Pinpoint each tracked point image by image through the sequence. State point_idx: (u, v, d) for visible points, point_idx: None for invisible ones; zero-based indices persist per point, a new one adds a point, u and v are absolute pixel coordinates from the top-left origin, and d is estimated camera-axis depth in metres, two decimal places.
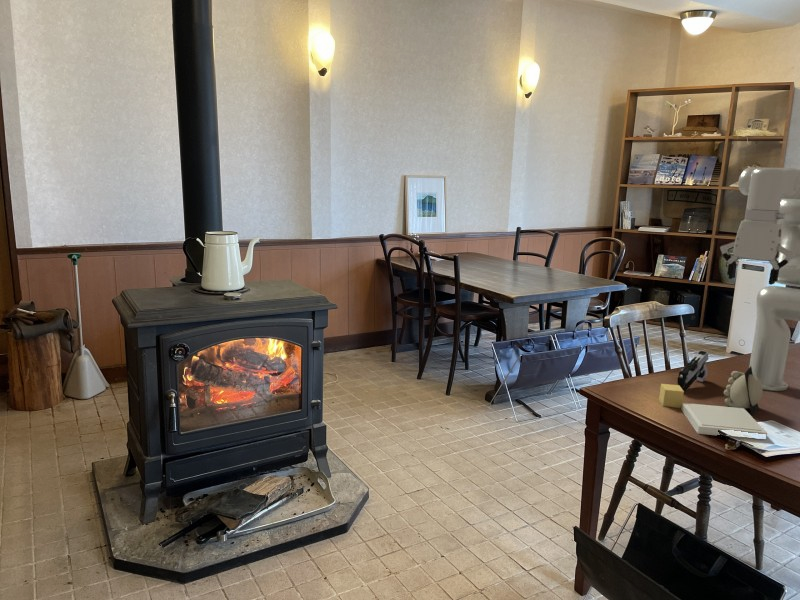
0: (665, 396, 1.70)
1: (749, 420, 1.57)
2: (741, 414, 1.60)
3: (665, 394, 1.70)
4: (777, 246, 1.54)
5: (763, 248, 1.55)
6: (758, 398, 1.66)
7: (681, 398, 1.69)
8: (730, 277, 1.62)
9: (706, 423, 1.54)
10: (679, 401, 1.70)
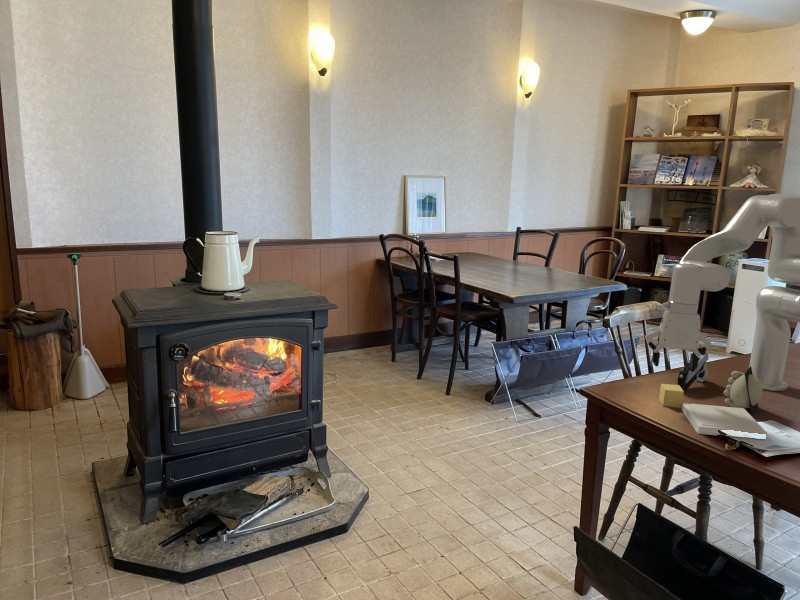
0: (665, 396, 1.70)
1: (749, 420, 1.57)
2: (741, 414, 1.60)
3: (665, 394, 1.70)
4: None
5: None
6: (758, 398, 1.66)
7: (681, 398, 1.69)
8: None
9: (706, 423, 1.54)
10: (679, 401, 1.70)
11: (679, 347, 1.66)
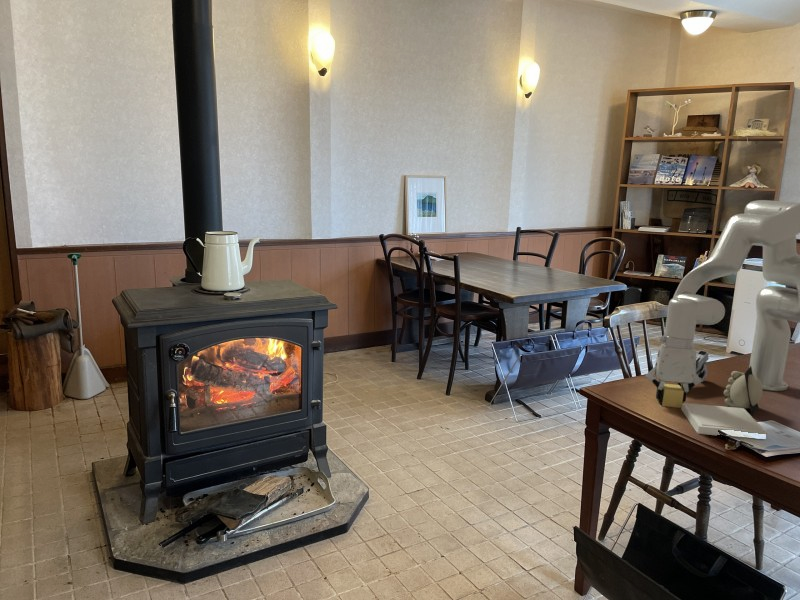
0: (665, 396, 1.70)
1: (749, 420, 1.57)
2: (741, 414, 1.60)
3: (665, 394, 1.70)
4: (655, 363, 1.72)
5: None
6: (758, 398, 1.66)
7: (681, 398, 1.69)
8: None
9: (706, 423, 1.54)
10: (679, 401, 1.70)
11: (676, 380, 1.68)
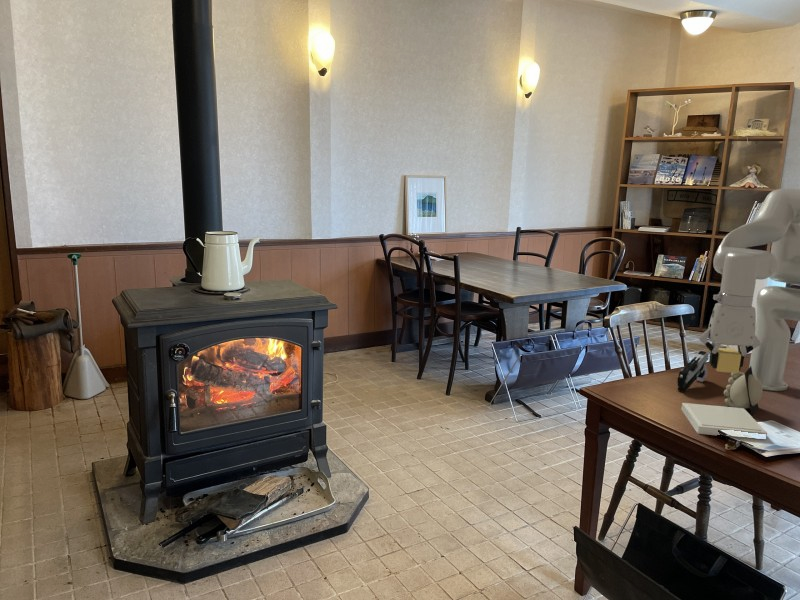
0: (720, 360, 1.54)
1: (749, 420, 1.57)
2: (741, 414, 1.60)
3: (721, 358, 1.54)
4: (709, 324, 1.57)
5: None
6: (758, 398, 1.66)
7: (738, 362, 1.54)
8: None
9: (706, 423, 1.54)
10: (736, 365, 1.54)
11: (732, 343, 1.53)
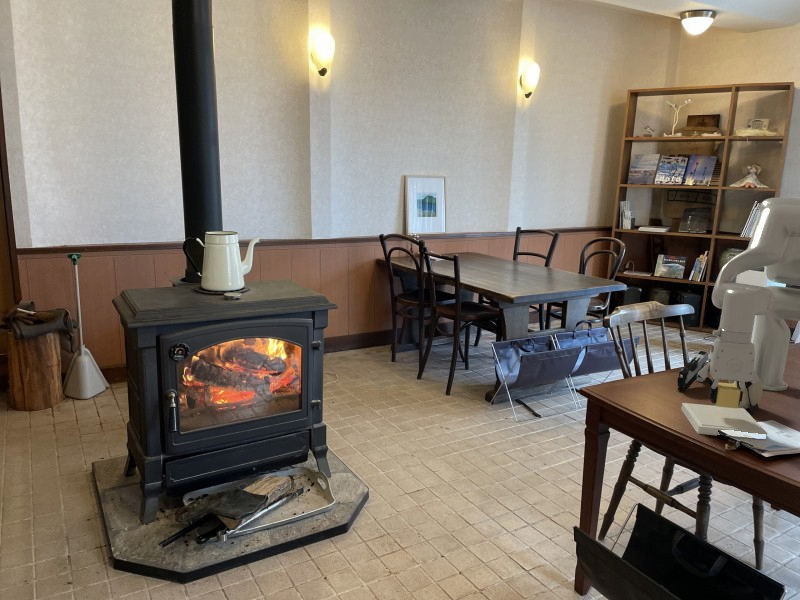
0: (720, 395, 1.55)
1: (749, 420, 1.57)
2: (741, 414, 1.60)
3: (720, 394, 1.55)
4: (708, 359, 1.58)
5: None
6: (758, 398, 1.66)
7: (737, 398, 1.55)
8: None
9: (706, 423, 1.54)
10: (735, 401, 1.55)
11: (732, 378, 1.54)
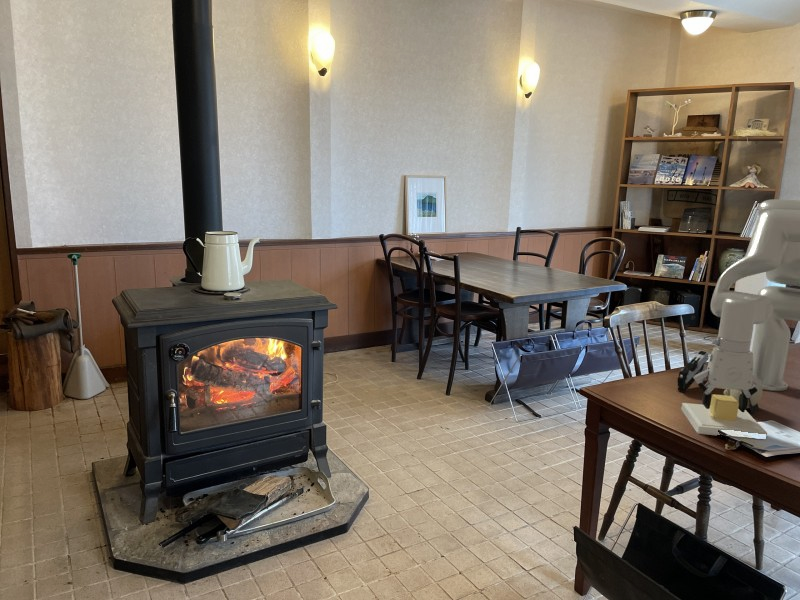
0: (718, 408, 1.56)
1: (749, 420, 1.57)
2: (741, 414, 1.60)
3: (719, 406, 1.56)
4: (707, 368, 1.58)
5: None
6: (758, 398, 1.66)
7: (736, 410, 1.56)
8: None
9: (706, 423, 1.54)
10: (734, 413, 1.56)
11: (731, 387, 1.54)
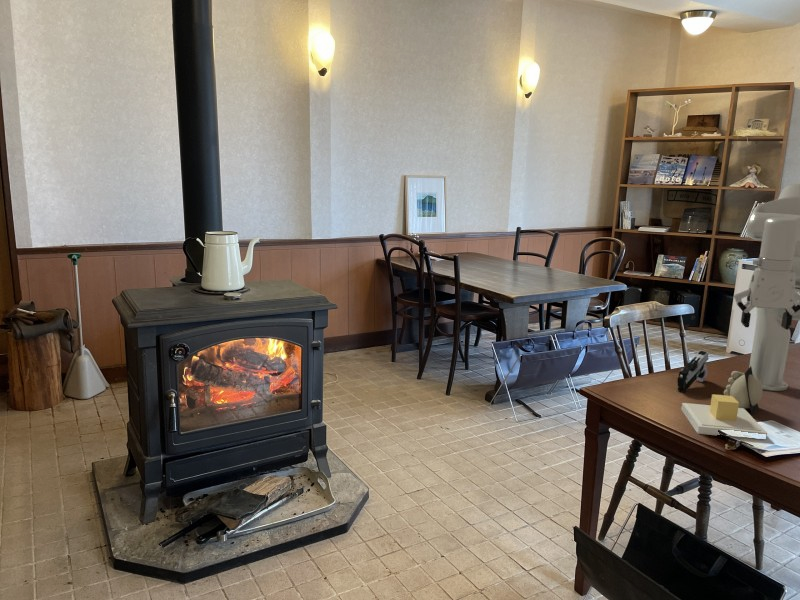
0: (718, 408, 1.56)
1: (749, 420, 1.57)
2: (741, 414, 1.60)
3: (719, 406, 1.56)
4: None
5: None
6: (758, 398, 1.66)
7: (736, 410, 1.56)
8: None
9: (706, 423, 1.54)
10: (734, 413, 1.56)
11: (772, 306, 1.57)
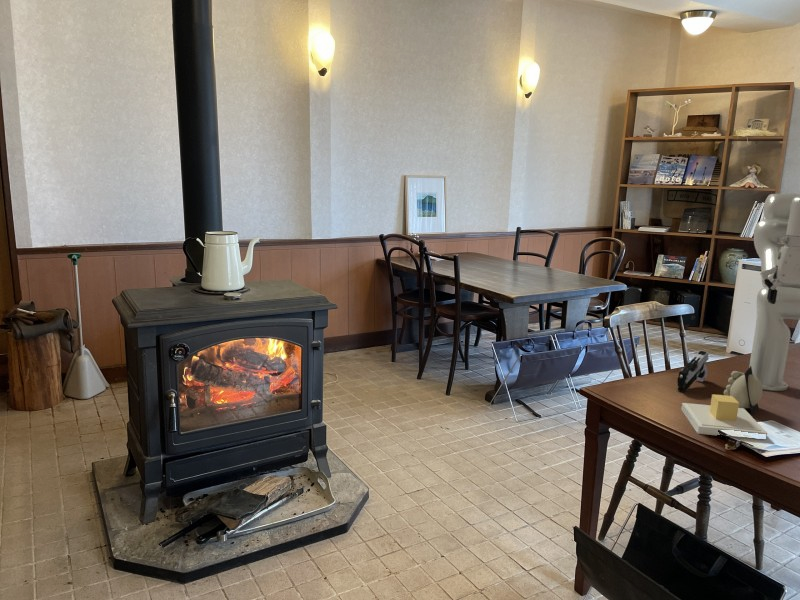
0: (718, 408, 1.56)
1: (749, 420, 1.57)
2: (741, 414, 1.60)
3: (719, 406, 1.56)
4: (775, 267, 1.66)
5: None
6: (758, 398, 1.66)
7: (736, 410, 1.56)
8: None
9: (706, 423, 1.54)
10: (734, 413, 1.56)
11: (799, 282, 1.62)
